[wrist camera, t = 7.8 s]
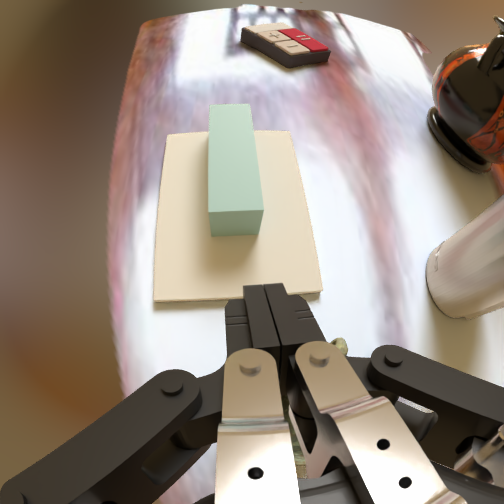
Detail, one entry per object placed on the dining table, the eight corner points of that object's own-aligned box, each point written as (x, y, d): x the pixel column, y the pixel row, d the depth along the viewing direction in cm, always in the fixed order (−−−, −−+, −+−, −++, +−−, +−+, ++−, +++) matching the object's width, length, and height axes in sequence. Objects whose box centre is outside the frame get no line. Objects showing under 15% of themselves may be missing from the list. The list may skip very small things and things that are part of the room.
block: (264, 209, 22) (249, 103, 27) (208, 212, 22) (209, 104, 27) (258, 234, 26) (247, 131, 31) (211, 236, 26) (210, 132, 31)
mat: (320, 292, 25) (323, 290, 24) (156, 302, 24) (153, 300, 23) (288, 135, 33) (289, 131, 32) (168, 139, 31) (167, 134, 31)
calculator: (291, 53, 37) (241, 24, 41) (287, 72, 41) (239, 41, 45) (333, 48, 40) (282, 19, 44) (327, 64, 44) (279, 34, 48)
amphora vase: (451, 107, 44) (501, 23, 18) (506, 183, 37) (578, 102, 11) (392, 100, 40) (447, -19, 14) (463, 195, 33) (566, 74, 7)
